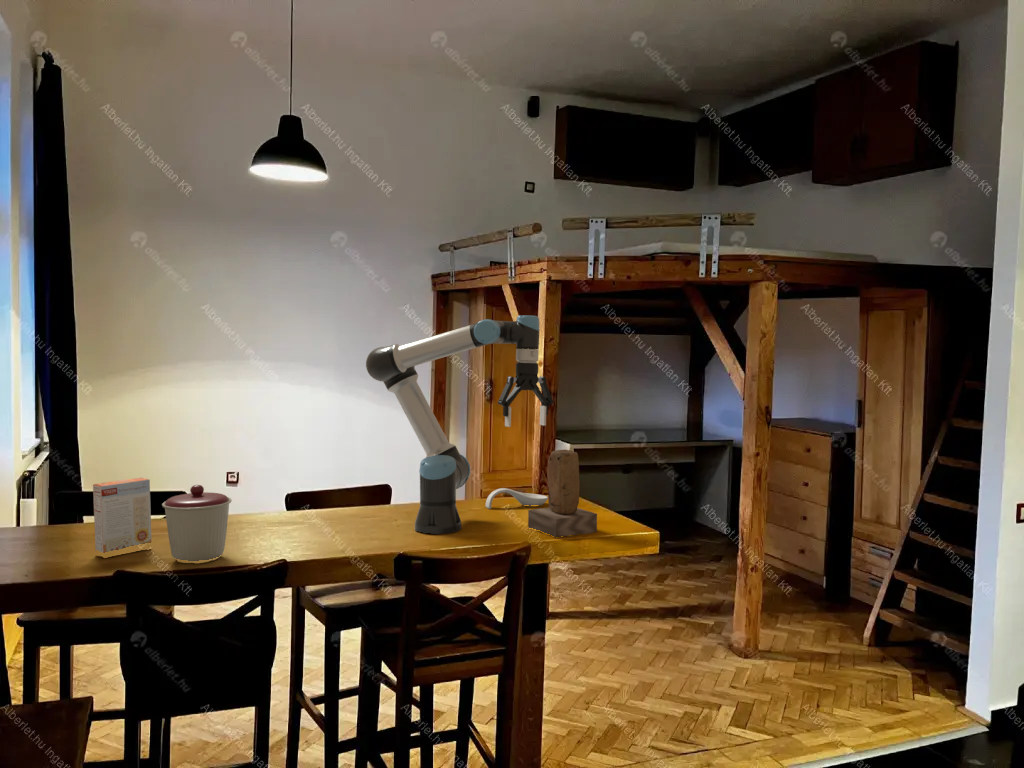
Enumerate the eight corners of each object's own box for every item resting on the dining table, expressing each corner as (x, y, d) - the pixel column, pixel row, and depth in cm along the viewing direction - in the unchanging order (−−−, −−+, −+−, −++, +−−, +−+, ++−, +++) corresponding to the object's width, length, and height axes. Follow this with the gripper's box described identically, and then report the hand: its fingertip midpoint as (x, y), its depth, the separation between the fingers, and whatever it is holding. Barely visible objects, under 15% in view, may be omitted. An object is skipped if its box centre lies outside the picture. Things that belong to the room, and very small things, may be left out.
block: (581, 513, 260) (581, 451, 259) (561, 516, 256) (561, 453, 255) (563, 507, 269) (564, 448, 268) (544, 509, 266) (544, 449, 265)
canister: (226, 548, 239) (225, 477, 238) (237, 563, 223) (236, 487, 222) (160, 556, 230) (158, 482, 229) (166, 572, 214) (165, 493, 213)
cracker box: (142, 546, 241) (141, 476, 240) (152, 549, 237) (151, 478, 236) (94, 555, 230) (92, 483, 229) (103, 559, 226) (101, 485, 225)
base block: (555, 538, 252) (556, 519, 252) (528, 528, 266) (528, 510, 265) (596, 532, 260) (597, 513, 260) (568, 522, 274) (568, 505, 274)
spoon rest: (540, 502, 311) (540, 483, 311) (552, 507, 300) (552, 488, 300) (482, 506, 303) (482, 487, 303) (492, 512, 292) (492, 492, 292)
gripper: (499, 362, 259) (498, 428, 260) (564, 362, 272) (562, 425, 273) (488, 361, 265) (487, 425, 267) (552, 362, 278) (550, 423, 279)
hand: (525, 425), depth 270 cm, fingers open, 13 cm apart
